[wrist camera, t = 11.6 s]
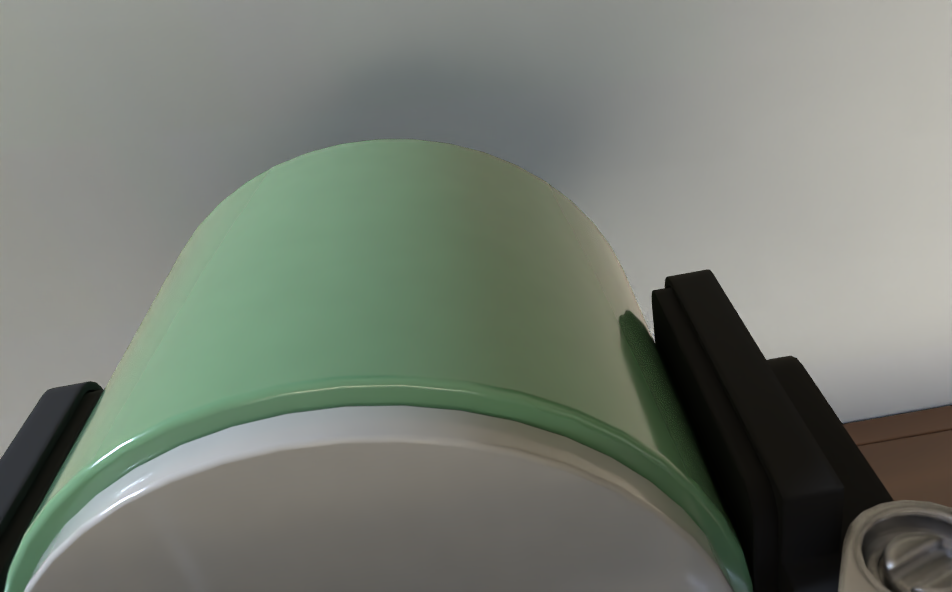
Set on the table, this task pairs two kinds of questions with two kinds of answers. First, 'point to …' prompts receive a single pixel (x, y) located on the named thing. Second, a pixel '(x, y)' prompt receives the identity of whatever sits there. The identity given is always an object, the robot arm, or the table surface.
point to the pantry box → (910, 453)
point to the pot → (388, 403)
